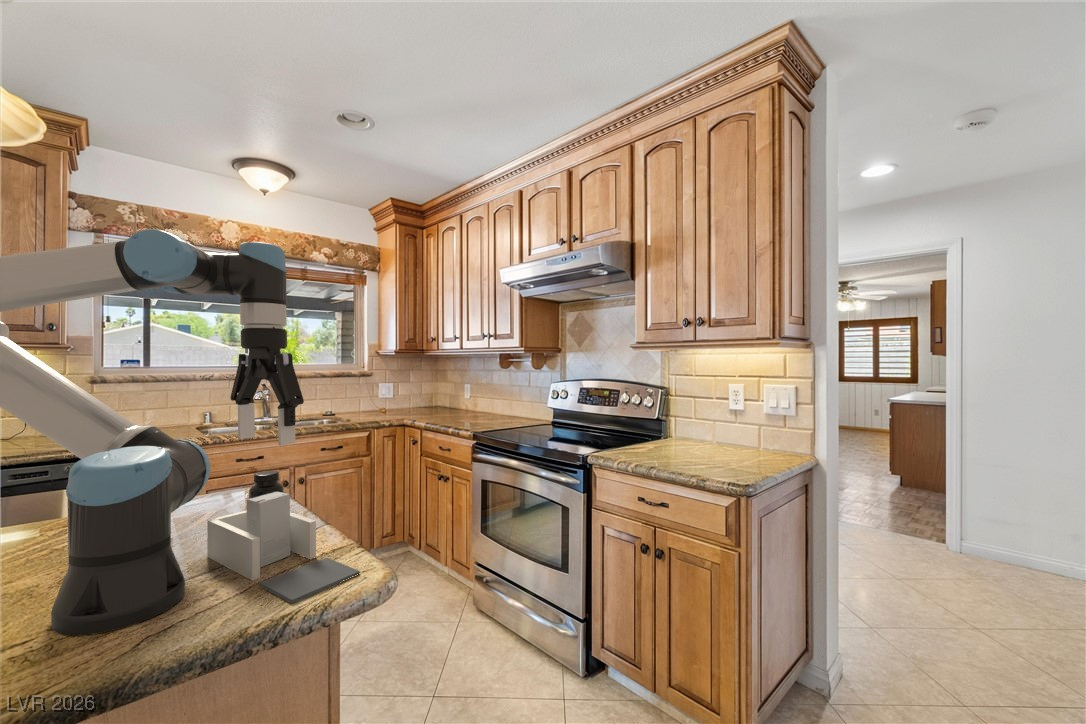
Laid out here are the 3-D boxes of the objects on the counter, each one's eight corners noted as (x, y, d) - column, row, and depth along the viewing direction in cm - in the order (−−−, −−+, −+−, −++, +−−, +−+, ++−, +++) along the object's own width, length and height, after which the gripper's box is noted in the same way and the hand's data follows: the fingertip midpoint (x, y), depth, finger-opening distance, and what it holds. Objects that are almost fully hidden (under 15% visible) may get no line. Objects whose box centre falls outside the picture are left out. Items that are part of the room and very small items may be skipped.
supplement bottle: (245, 525, 108) (245, 472, 108) (279, 518, 112) (279, 467, 112) (252, 534, 103) (252, 478, 103) (287, 526, 107) (287, 473, 107)
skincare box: (276, 552, 93) (276, 490, 93) (291, 556, 91) (291, 493, 91) (244, 564, 88) (244, 498, 88) (259, 569, 86) (259, 502, 86)
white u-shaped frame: (252, 580, 81) (252, 539, 81) (207, 556, 91) (207, 520, 91) (316, 557, 91) (315, 520, 91) (269, 538, 100) (269, 504, 100)
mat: (292, 603, 74) (292, 599, 74) (259, 586, 80) (259, 582, 80) (359, 574, 84) (359, 571, 84) (326, 560, 90) (326, 557, 89)
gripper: (323, 326, 86) (325, 443, 87) (249, 330, 99) (251, 432, 100) (282, 324, 80) (284, 450, 80) (208, 329, 93) (210, 438, 93)
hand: (266, 441), depth 90 cm, fingers open, 13 cm apart
